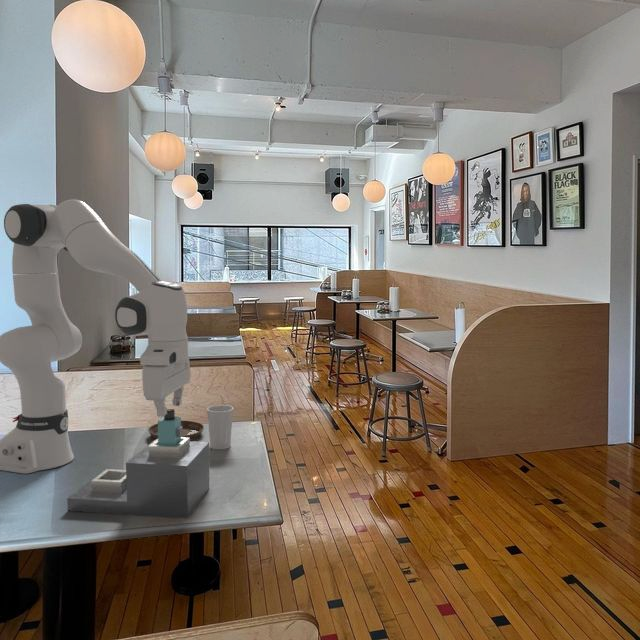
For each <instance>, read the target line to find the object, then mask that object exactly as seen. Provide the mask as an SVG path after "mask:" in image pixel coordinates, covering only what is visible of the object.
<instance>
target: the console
mask: <svg viewBox="0 0 640 640" xmlns="http://www.w3.org/2000/svg"><path fill="white" fill-rule="evenodd" d="M209 490H210V441H192V440H190V437H181V442H180V443H179V444H178V445H177V446H170V445H158V439H157V440H156V439H154V440H152V441H151V442H150V443H149V444H148V445H146V446H145V447H144V448H142V450H140V451H139V452H137V453H136V454H135V455H134V456H133V457H131V458H130V459H129V460H128V461H126V462H125V469H115V468H114V469H111V468H110V469H109V468H106V469H105V470H103V471H101V472H99V474H97V475H96V476H94V478H92V479H91V480H89V481H88V482H87V483H85V484H84V485H83V486H82V487H80V488H79V489H78V490H76V491H75V492H74V493H72V494H71V495H69V496H68V497H67V498H66V499H67V500H66V501H67V511H68V510H72V511H71V512H75V511H82V512H81V513H91V512H94V513H97V514H111V515H124V516H125V515H128V516H144V517H161V518H178V519H179V518H180V519H188V518H189V517H190V516H191V515H192V513H193V512H194V510H195V509H196V508H197V506H198V505H199V504H200V502H201V500H202V499H203V498H204V496H206V494H207V492H208V491H209ZM94 513H93V514H94Z"/></svg>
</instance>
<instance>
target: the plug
mask: <svg viewBox="0 0 640 640" xmlns="http://www.w3.org/2000/svg"><path fill="white" fill-rule="evenodd" d="M175 414H176V412H175V409H174V408H167V414H166V415H165V416H164V417H161V418H160V419H159V420H157V424H158V445H170V446H177V445H178V444H179V443H180V442H181V436H182V435H183V426H181V421H182V417H181V416H176V415H175Z"/></svg>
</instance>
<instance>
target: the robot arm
mask: <svg viewBox="0 0 640 640" xmlns="http://www.w3.org/2000/svg"><path fill="white" fill-rule="evenodd" d="M3 218H4V219H3V229H4V231H5V235H6V236H7V239H9V240H10V241H11V242H12V243H13V247H12V257H11V258H12V259H11V260H12V261H11V264H12V265H11V266H12V267H11V268H12V281H13V293H14V294H13V295H14V303H15V304H16V306H17V307H18V308H20V309H21V310H24V311H25V313H26V314H27V315H28V317H29V320H30V323H31V325H26V326H18V327H16V328H13V329H10V330H9V331H6V332H4V333H1V334H0V363H1V365H3V366H5V368H8V369H9V370H10V371H11V372H12V373H13V376H14V377H15V379H16V380H17V384H18V387H19V392H20V393H19V395H20V404H21V413H20V414H18V415H17V416H15V417H12V423H15V422H17V423H16V425H15V427H14V428H13V429H12V430H11V431H9V432H7V434H5V435H4V436H3V437H1V438H0V471H5V472H12V473H18V474H31V473H35V472H38V471H43V470H49V469H54V468H58V467H62V466H65V465H66V464H68V463H70V462H72V461H73V459H74V458H75V455H74V453H73V450H72V446H71V443H70V438H69V432H68V431H69V430H68V429H69V412H68V409H67V402H66V401H67V400H66V397H67V395H66V384H65V382H64V381H63V380H62V379H60V378H59V377H56V375H55V373H54V371H53V369H52V363H54V362H58V361H62V360H66V359H67V358H70V357H72V356H74V355H75V354H76V353H78V352H79V351H80V350H81V347H82V346H83V335H82V332H81V331H80V329H79V328H78V326H76V325H75V324H73V322H72V321H71V320H70V319H69V316H68V315H67V313H66V310H65V308H64V305H63V303H62V298H61V289H60V281H59V269H58V260H57V259H58V258H57V255H58V253H59V252H60V251H61V250H62V249H63V250H65V251H66V252H68V253H69V254H70V256H71V258H73V260H74V261H75V262H76V263H78V264H79V265H80V266H81V267H83V268H84V269H87V270H89V271H93V272H97V273H101V274H102V273H103V274H107V275H112V276H113V277H117V278H120V279H123V280H125V281H126V282H129V284H131V285H132V286H133V287H134V289H136V291H137V292H138V293H135V294H132V295H128V296H125V297H123V298H121V299H120V300H119V301H118V303H117V305H116V307H115V311H114V318H115V323H116V326H117V327H118V329H119V330H120V331H121V333H123V334H124V335H126V336H131V337H140V336H147V337H148V338H147V339H148V340H147V346H146V348H145V350H144V351H143V353H142V354H141V355H140V357H139V362H140V365H141V366H143V367H142V370H141V371H142V373H141V374H142V375H141V376H142V377H141V378H142V381H141V382H142V389H143V390H142V391H143V396H144V398H145V400H146V401H150V402H151V401H153V404H154V407H155V409H156V416H157V417H159V418H160V417H161V418H163V417H164V416H165V415H166V414H167V409H168V408H167V407H166V403H165V402H166V397H168V396H169V395H171V394H173V397H172V400H171V401H172V406H173V407H175V406H176V407H179V406H180V405H182V403H183V402H182V401H183V400H182V397H183V393H184V387H185V386H186V385H187V384H189V383H190V381H191V363H190V357H189V342H188V341H189V339H188V338H189V336H188V334H187V330H186V329H187V328H186V327H187V323H188V305H187V304H188V303H187V297H186V296H187V295H186V293H185V290H184V287H182V286H181V285H180V284H178V283H176V282H171V281H165V280H163V281H162V280H161V279H160V278H159V277H158V275H156V273H155V272H154V271H153V270H152V269H151V268H150V267H149V266H148V264H146V263H145V261H144V260H143V259H142V258H141V257H140V256H139V255H138V254H136V253H135V252H134V251H133V250H131V249H130V248H129V247H127V246H126V245H125V244H124V243H123V242H122V241H120V239H118V238H117V236H116V235H114V233H113V232H112V231H111V230H110V229H109V227H108V226H107V225H106V223H105V222H104V221H103V219H102V218H101V217H100V215H98V214H97V212H95V211H94V209H92V208H91V206H89V205H88V204H87V203H86V202H84V201H83V200H80V199H75V198H74V199H66V200H64V201H62V202H60V203H59V204H58V205H55V204H30V203H21V204H19V203H18V204H15V205H13V206H10V207H9V208H8V210H7V211H6V213H5V215H4V217H3Z"/></svg>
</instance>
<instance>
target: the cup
mask: <svg viewBox="0 0 640 640" xmlns="http://www.w3.org/2000/svg"><path fill="white" fill-rule="evenodd" d="M206 413H207V420H208V432H209V433H208V434H209V449H211V448H213V449H212V450H215V449H223V450H227V449H229V448H231V442H232V440H231V439H232V426H233V415H234V407H233V406H231V405H225V404H222V405H219V404H217V405H212V406H209V407H207V409H206ZM226 448H227V449H226Z"/></svg>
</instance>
